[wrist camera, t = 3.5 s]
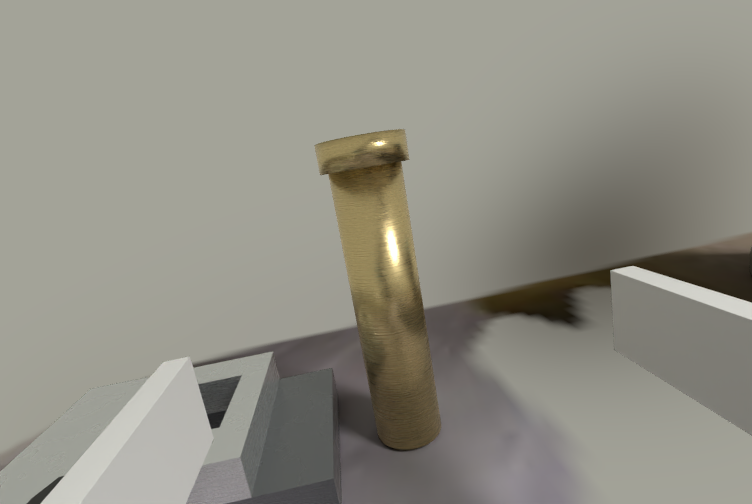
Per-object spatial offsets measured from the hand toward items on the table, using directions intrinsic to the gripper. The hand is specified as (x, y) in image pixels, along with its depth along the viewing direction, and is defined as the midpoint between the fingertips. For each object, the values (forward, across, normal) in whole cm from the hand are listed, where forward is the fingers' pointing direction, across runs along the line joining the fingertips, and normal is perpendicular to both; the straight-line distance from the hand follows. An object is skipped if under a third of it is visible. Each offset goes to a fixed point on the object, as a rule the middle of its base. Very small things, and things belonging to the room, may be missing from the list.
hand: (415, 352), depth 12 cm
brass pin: (+9, 0, -9) cm, 13 cm away
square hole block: (+9, -11, -9) cm, 17 cm away
